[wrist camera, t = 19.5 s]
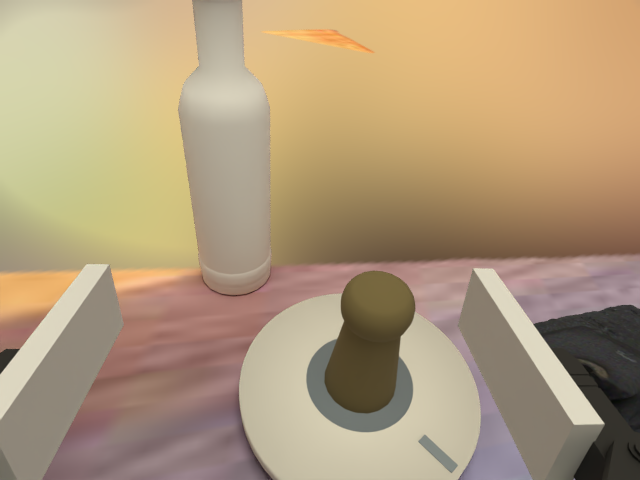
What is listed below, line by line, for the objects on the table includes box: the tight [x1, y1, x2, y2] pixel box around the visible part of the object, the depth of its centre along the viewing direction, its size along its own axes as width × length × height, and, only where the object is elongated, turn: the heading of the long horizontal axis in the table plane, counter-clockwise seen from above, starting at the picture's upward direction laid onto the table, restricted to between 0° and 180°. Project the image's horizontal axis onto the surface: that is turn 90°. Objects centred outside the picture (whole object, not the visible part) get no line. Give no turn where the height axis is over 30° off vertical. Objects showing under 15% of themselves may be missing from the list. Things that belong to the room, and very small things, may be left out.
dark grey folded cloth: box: [533, 305, 640, 433], centre depth 40 cm, size 15×22×5 cm
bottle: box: [178, 0, 271, 295], centre depth 40 cm, size 8×8×30 cm
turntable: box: [239, 293, 481, 480], centre depth 36 cm, size 20×20×2 cm
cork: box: [324, 271, 415, 414], centre depth 32 cm, size 6×6×11 cm
